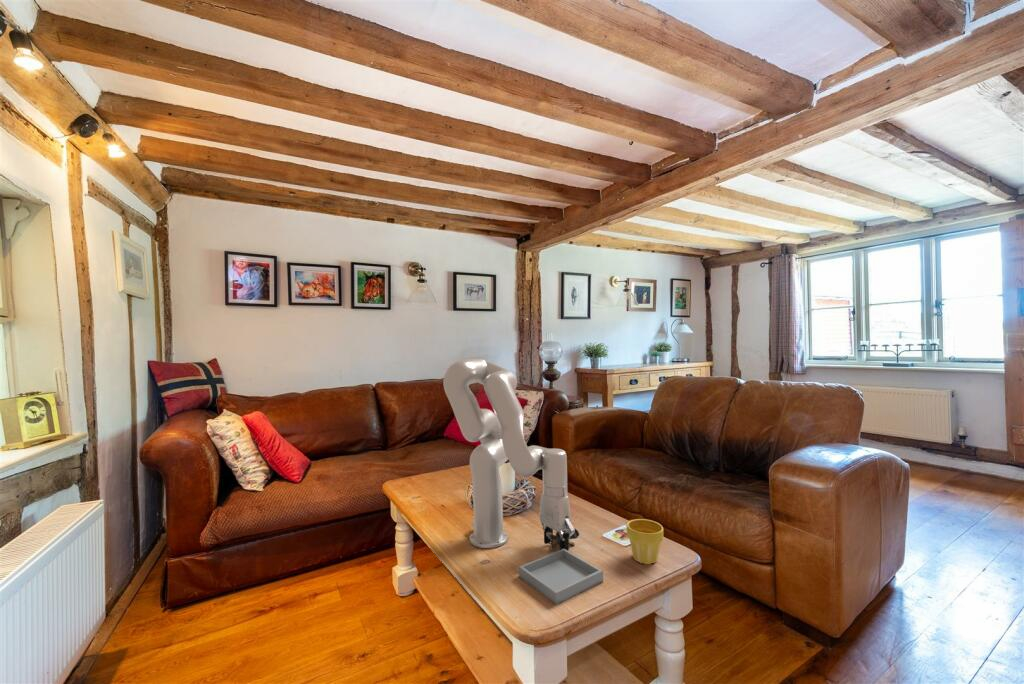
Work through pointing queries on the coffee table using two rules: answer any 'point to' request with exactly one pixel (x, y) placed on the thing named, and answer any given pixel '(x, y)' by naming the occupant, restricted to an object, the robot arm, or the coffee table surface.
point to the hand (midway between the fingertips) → (556, 546)
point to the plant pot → (645, 539)
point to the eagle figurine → (556, 538)
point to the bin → (560, 575)
